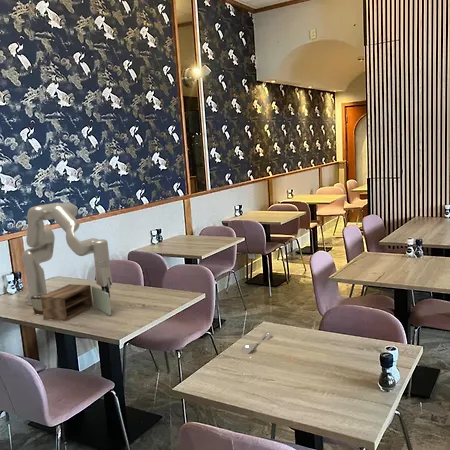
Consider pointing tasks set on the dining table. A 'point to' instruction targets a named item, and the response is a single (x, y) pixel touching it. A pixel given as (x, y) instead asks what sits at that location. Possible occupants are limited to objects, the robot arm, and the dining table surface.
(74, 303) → the wooden shelf
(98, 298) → the cabinet door
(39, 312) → the food container
